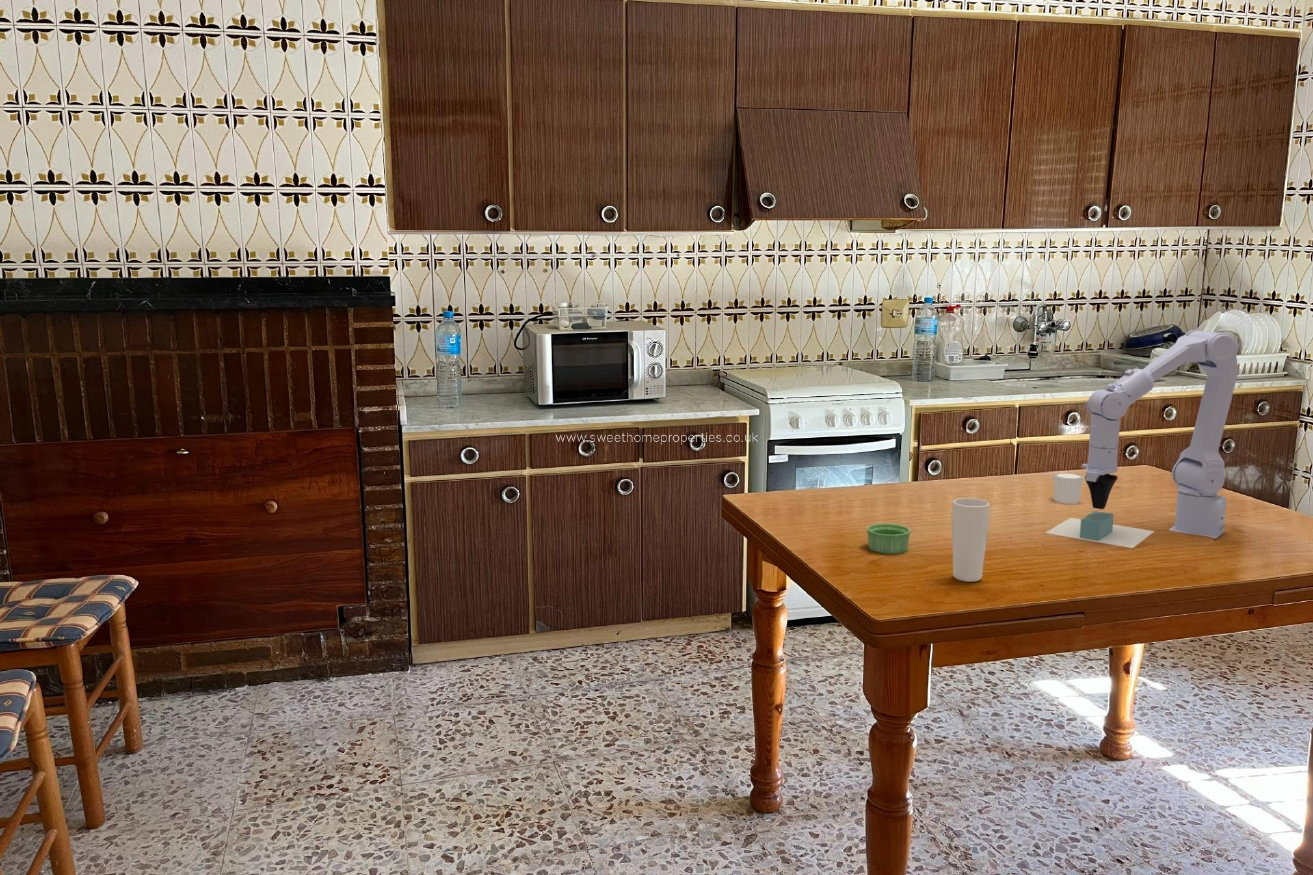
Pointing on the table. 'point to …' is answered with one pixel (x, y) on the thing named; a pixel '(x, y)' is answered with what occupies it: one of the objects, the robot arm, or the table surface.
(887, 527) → the ramekin
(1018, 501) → the table surface
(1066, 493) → the white cylinder
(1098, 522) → the teal block
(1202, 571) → the table surface
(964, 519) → the drinking glass
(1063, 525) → the white mat
